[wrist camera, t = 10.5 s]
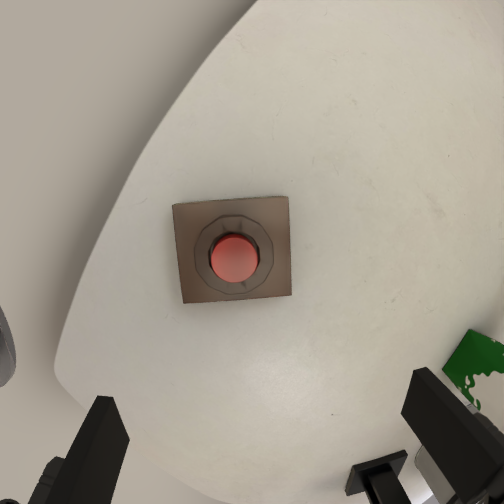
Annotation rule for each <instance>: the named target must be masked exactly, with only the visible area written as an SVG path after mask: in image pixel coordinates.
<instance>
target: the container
mask: <svg viewBox="0 0 504 504" xmlns="http://www.w3.org/2000/svg"><path fill="white" fill-rule="evenodd" d="M466 408H467V409H468V410H469V411H470V412H471V413H472V414H474V413H476V412H478V413H480V414H482V413H481V412H480V411H479V410H478V409H477V408H476V407H475V406H474V405H473V404H471V405H469V406H467V407H466ZM482 415H483V414H482ZM415 466H416V468H417V469H418V470H419V471H420V472H421V474H422V476H423V477H424V479H425V480H426V482H427V484H428V485H429V487H430V489H431V490H432V492H433V493H434V495H435V497H436V498H437V500H438V502H439V503H440V504H463V503H462V502H461V500H460V499H459V497H458V496H457V494H456V493H455V491H454V490H453V488H452V487H451V485H450V484H449V482H448V481H447V479H446V478H445V476H444V475H443V473H442V472H441V471H440V469H439V468H438V466H437V465H436V463H435V462H434V460H433V459H432V457H431V456H430V455H429V453H428V452H427V450H426V449H425V447H424V446H422V447H421V448H420V450H419V452H418V454H417V456H416V458H415ZM486 494H487V491H486V490H484V491H483V492H482V493H481V494H480V495H479V497H478V498H476V499H474V500H473V501H471V502H470V503H468V504H476V503H477V502H478V501H480V500H481V499H482V498H483V497H484V496H485V495H486Z"/></svg>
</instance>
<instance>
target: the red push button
mask: <svg viewBox="0 0 504 504" xmlns="http://www.w3.org/2000/svg"><path fill="white" fill-rule="evenodd" d="M257 263H258V258H257V253H256V250H255V248H254V246H253V244H252V243H251V241H250V240H249V239H247V238H246V237H244V236H242V235H238V234H230V235H226V236H224V237H222V238H221V239H220V240H219V241H218V242H217V243H216V244H215V246H214V248H213V252H212V256H211V265H212V268H213V270H214V272H215V274H216V275H217V276H218V277H219V278H221V279H222V280H224V281H226V282H230V283H238V282H242V281H245V280H246V279H248V278H249V277H250V276H251V275H252V274H253V273H254V271H255V270H256V267H257Z"/></svg>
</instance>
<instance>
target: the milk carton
mask: <svg viewBox="0 0 504 504" xmlns="http://www.w3.org/2000/svg"><path fill="white" fill-rule="evenodd" d="M442 370H443V371H444V373H445V374H446V375H447V376H448V377H449V379H450V380H451V381H452V382H453V383H454V385H455V386H456V387H457V388H458V389H459V391H460V392H461V393H462V394H463V395H464V396H465V397H466V398H467V399H468V400H469V401H470V402H471V403H472V404H473V405H474V406H475V407H476V408H477V409H478V410H479V411H480V412H481V413H482V414H483V415H484V416H486V417H487V418H488V419H489V420H490V421H491V422H492V423H493V425H495V426H496V427H497V428H498V429H499V431H501V432H502V433H503V434H504V345H503V344H501V343H500V342H498V341H496V340H494V339H492V338H489V337H487V336H484V335H482V334H480V333H477V332H475V331H473V330H470V329H469V330H468V332H467V334H466V335H465V337H464V338H463V340H462V341H461V343H460V345H459V346H458V348H457V349H456V351H455V352H454V354H453V355H452V356H451V358H450V359H449V361H448V362H447V364H446V365H445V366H444V368H443V369H442Z"/></svg>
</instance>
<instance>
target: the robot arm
mask: <svg viewBox="0 0 504 504" xmlns="http://www.w3.org/2000/svg"><path fill="white" fill-rule="evenodd" d="M401 415H402V416H403V417H404V419H405V420H406V422H407V423H408V424H409V426H410V427H411V429H412V430H413V432H414V433H415V434H416V436H417V437H418V439H419V440H420V442H421V443H422V444H423V446H424V447H425V449H426V450H427V452H428V453H429V455H430V456H431V457H432V459H433V460H434V462H435V463H436V465H437V466H438V468H439V469H440V471H441V472H442V473H443V475H444V476H445V478H446V479H447V481H448V482H449V484H450V485H451V487H452V488H453V490H454V491H455V493H456V494H457V496H458V497H459V499H460V500H461V502H462V503H463V504H468V503H470V502H471V501H473V500H474V499H476V498H478V497H479V495H480V494H481V493H482V492H483V491H484V490H486V491H487V494H486V495H485V496H484V497H483V498H482V499H481V500H480V502H479V503H478V504H482V503H483V502H484V504H504V434H503V433H502V432H501V431H499V429H498V428H497V427H496V426H495V425H493V423H492V422H491V421H490V420H489V419H488V418H487V417H486V416H484V415H482V414H480V413H478V412H476V413H474V414H472V413H471V412H470V411H469V410H468V409H467V408H466V406H465V405H464V404H463V403H462V402H461V401H460V400H459V399H458V398H457V397H456V396H455V395H454V394H453V393H452V392H451V391H450V390H449V389H448V388H447V387H446V386H445V385H444V384H443V383H442V382H441V381H440V380H439V379H438V378H437V377H436V376H435V375H434V374H433V373H432V372H431V371H430V370H429V369H428V368H427V367H423V368H420V369H416V370H413V374H412V378H411V381H410V385H409V389H408V392H407V395H406V399H405V402H404V405H403V408H402V411H401ZM129 441H130V439H129V436H128V434H127V432H126V429H125V427H124V424H123V422H122V419H121V417H120V414H119V412H118V409H117V406H116V404H115V401H114V398H113V397H108V396H98V395H97V397H96V399H95V401H94V403H93V405H92V407H91V408H90V410H89V412H88V414H87V416H86V418H85V420H84V422H83V424H82V426H81V428H80V430H79V432H78V434H77V435H76V438H75V440H74V441H73V444H72V445H71V447H70V450H69V452H68V454H67V456H66V458H65V459H64V458H60V457H57V456H56V457H54V458H53V459H52V460H51V461H50V462H49V463H48V464H47V465H46V467H45V469H44V471H43V475H41V477H40V479H39V483H38V484H37V486H36V487H35V489H34V492H33V494H32V496H31V498H30V500H29V502H28V504H111V500H112V497H113V493H114V490H115V486H116V483H117V479H118V476H119V473H120V469H121V466H122V463H123V460H124V456H125V453H126V450H127V447H128V444H129ZM0 504H19V503H18V502H17V501H15V500H12V499H4V500H1V501H0Z"/></svg>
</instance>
